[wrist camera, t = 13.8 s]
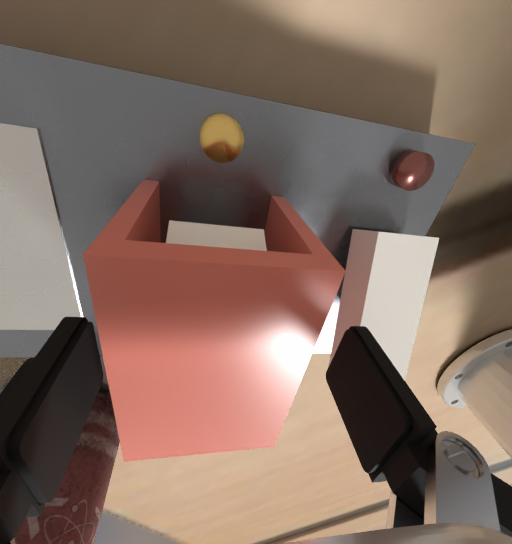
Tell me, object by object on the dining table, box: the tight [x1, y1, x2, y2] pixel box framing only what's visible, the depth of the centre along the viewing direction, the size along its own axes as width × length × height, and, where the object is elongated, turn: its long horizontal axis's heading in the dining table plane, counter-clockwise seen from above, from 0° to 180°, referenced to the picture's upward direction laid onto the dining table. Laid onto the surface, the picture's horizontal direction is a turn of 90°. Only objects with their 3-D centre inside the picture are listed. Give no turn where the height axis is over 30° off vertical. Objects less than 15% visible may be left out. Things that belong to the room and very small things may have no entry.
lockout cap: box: [83, 180, 346, 461], centre depth 11 cm, size 6×9×6 cm, turn 170°
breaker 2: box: [329, 229, 439, 381], centre depth 13 cm, size 3×8×2 cm, turn 170°
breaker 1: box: [166, 220, 267, 251], centre depth 11 cm, size 3×8×2 cm, turn 170°
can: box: [14, 390, 120, 544], centre depth 16 cm, size 6×6×14 cm
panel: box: [0, 44, 475, 358], centre depth 14 cm, size 25×14×4 cm, turn 80°
